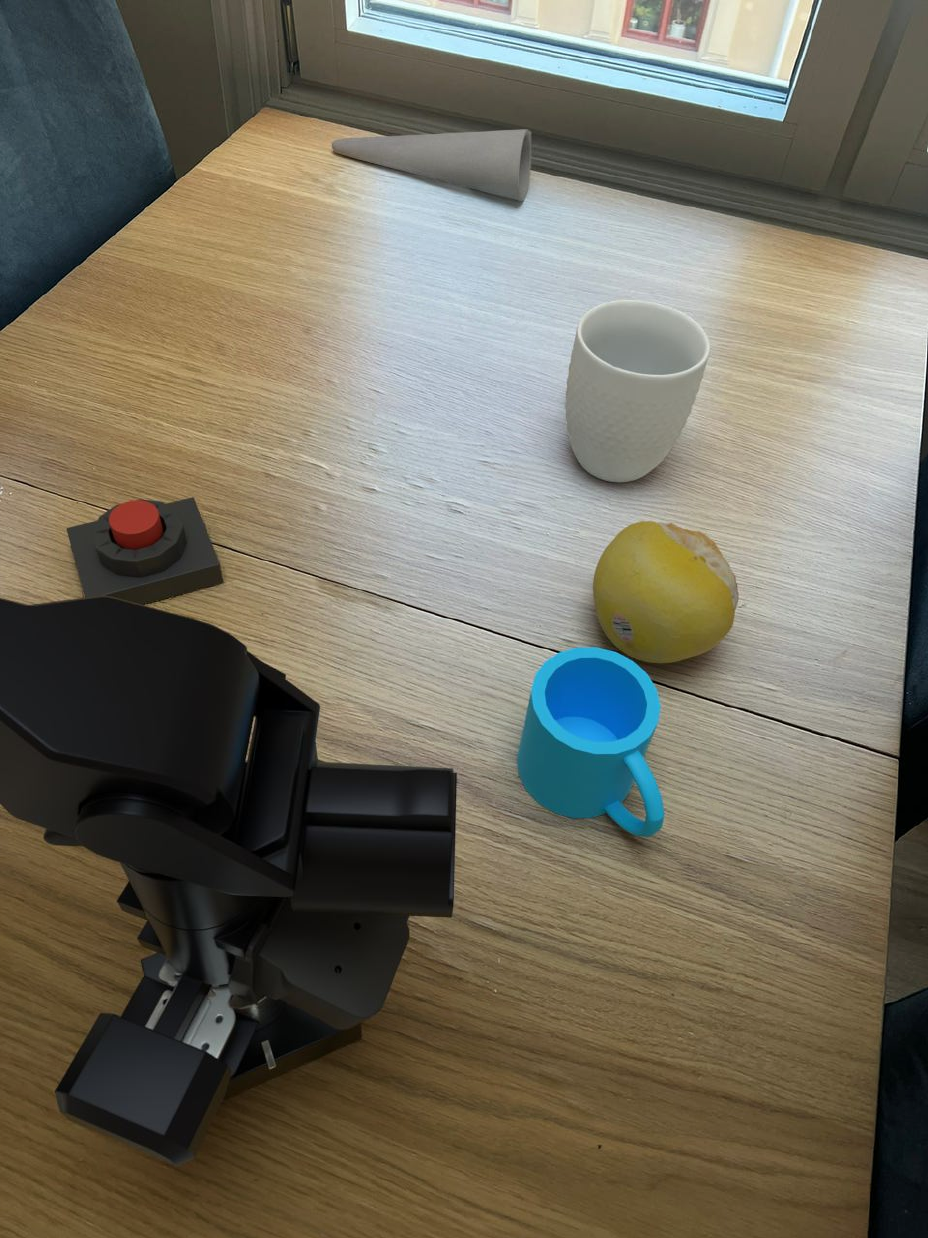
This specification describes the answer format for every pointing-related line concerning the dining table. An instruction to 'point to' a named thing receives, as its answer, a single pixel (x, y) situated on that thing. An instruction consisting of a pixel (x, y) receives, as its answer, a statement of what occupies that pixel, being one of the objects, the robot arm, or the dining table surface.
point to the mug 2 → (591, 738)
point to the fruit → (664, 592)
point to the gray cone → (453, 158)
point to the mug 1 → (632, 386)
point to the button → (135, 524)
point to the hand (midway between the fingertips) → (247, 987)
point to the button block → (147, 557)
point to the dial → (257, 1008)
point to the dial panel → (276, 1041)
